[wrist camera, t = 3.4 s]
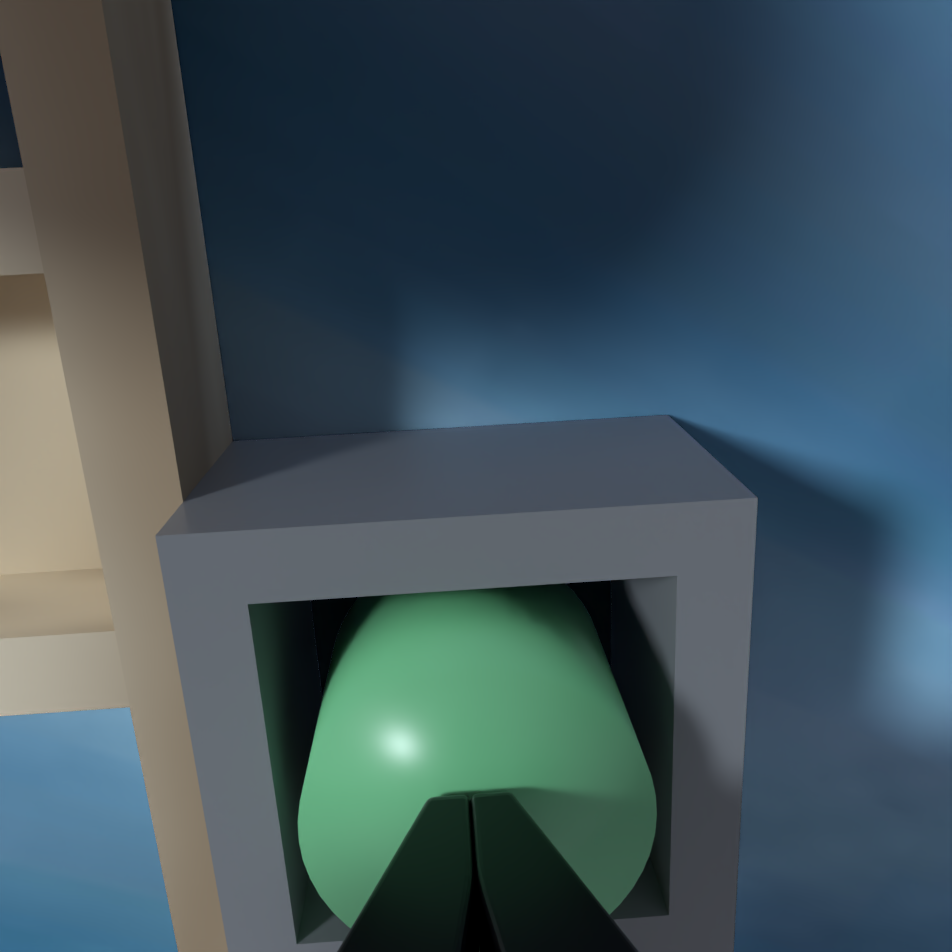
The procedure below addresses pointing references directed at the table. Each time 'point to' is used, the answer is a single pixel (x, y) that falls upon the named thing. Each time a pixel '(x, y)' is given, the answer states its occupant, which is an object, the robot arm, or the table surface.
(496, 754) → the button
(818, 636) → the table surface
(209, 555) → the grey square box
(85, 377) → the birch frame
